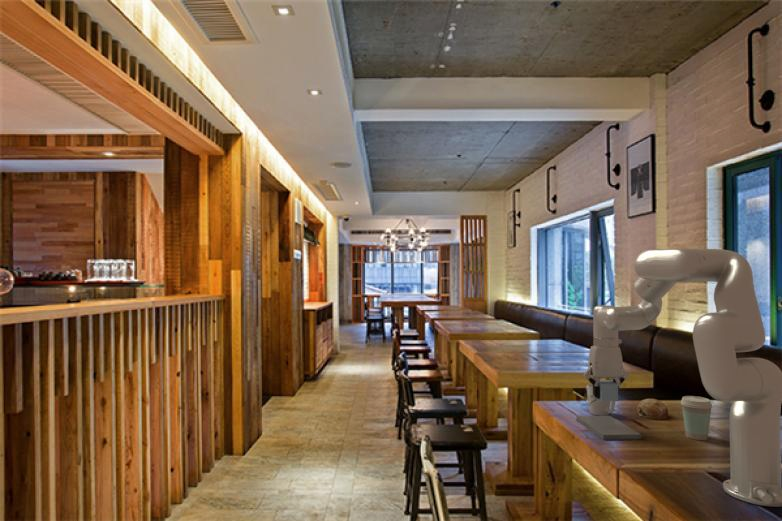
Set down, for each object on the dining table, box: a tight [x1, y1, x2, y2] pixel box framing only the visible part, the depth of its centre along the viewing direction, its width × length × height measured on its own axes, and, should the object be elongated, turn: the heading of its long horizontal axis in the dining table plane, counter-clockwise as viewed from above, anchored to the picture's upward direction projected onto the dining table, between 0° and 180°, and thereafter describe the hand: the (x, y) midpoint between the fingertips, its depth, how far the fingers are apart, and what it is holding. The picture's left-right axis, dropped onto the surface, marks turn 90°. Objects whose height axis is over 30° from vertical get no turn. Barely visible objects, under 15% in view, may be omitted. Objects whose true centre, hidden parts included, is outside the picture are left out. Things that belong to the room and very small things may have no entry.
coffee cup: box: [680, 395, 713, 441], centre depth 155 cm, size 8×8×12 cm
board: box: [576, 415, 642, 441], centre depth 163 cm, size 20×12×2 cm, turn 2°
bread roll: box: [636, 398, 669, 421], centre depth 179 cm, size 10×10×8 cm
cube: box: [599, 379, 619, 402], centre depth 164 cm, size 6×6×6 cm
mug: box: [586, 383, 616, 416], centre depth 180 cm, size 11×8×10 cm
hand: (606, 397), depth 164 cm, fingers closed on cube, 5 cm apart
